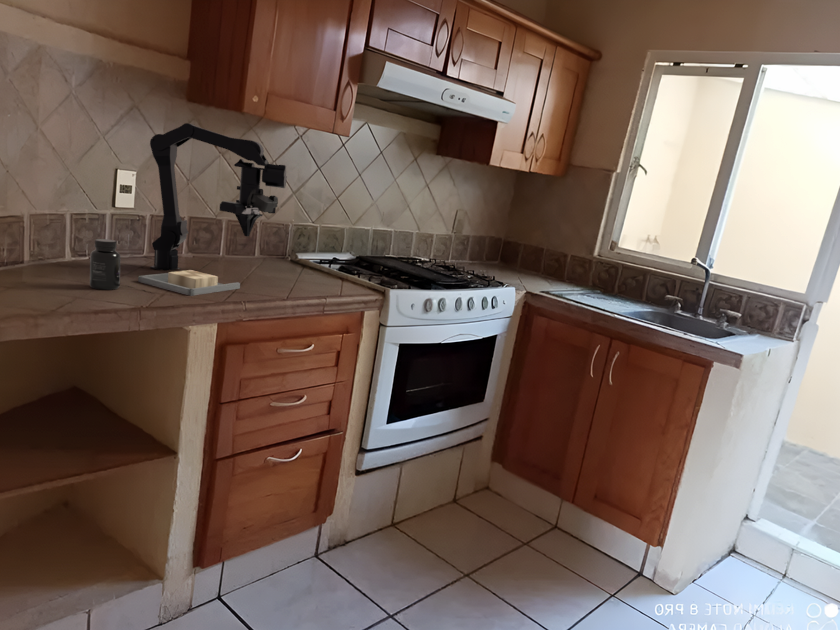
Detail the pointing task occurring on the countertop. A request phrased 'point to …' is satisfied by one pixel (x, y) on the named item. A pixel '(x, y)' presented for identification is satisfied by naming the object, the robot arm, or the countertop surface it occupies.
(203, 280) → the wooden block
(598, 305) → the countertop surface
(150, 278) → the mat
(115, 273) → the supplement bottle
